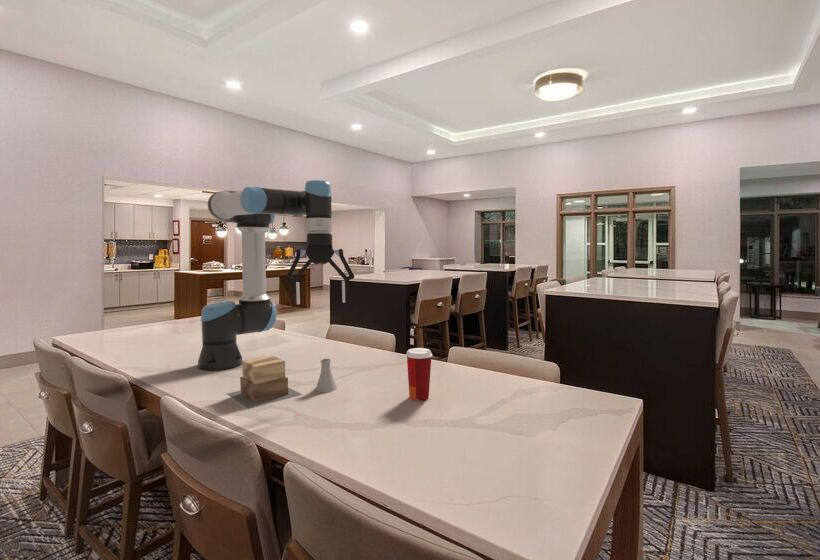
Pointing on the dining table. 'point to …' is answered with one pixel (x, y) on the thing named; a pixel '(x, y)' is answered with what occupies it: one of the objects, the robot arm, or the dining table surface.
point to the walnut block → (264, 389)
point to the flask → (326, 378)
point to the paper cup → (419, 373)
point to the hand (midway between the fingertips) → (321, 303)
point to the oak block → (263, 369)
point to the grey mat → (251, 404)
